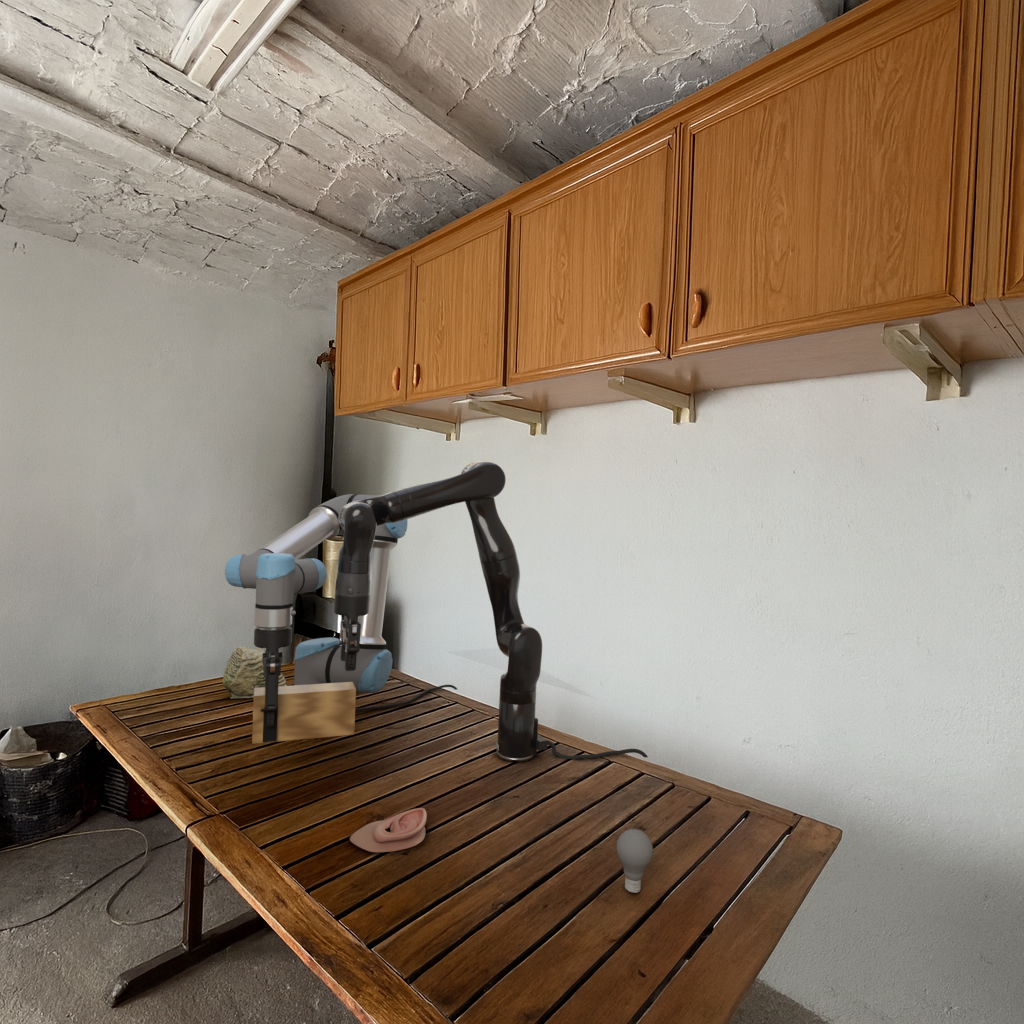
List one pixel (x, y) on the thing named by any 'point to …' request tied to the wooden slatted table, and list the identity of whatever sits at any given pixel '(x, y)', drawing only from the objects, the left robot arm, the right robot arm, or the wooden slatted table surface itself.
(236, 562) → the left robot arm
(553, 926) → the wooden slatted table surface
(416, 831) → the anatomical model
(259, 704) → the box
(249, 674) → the fossil
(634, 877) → the light bulb
